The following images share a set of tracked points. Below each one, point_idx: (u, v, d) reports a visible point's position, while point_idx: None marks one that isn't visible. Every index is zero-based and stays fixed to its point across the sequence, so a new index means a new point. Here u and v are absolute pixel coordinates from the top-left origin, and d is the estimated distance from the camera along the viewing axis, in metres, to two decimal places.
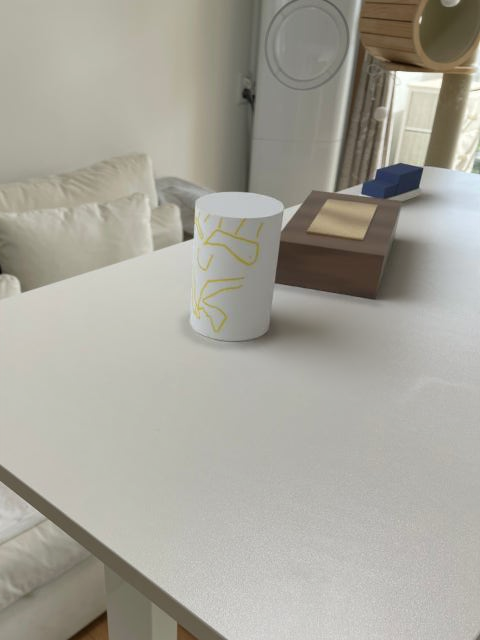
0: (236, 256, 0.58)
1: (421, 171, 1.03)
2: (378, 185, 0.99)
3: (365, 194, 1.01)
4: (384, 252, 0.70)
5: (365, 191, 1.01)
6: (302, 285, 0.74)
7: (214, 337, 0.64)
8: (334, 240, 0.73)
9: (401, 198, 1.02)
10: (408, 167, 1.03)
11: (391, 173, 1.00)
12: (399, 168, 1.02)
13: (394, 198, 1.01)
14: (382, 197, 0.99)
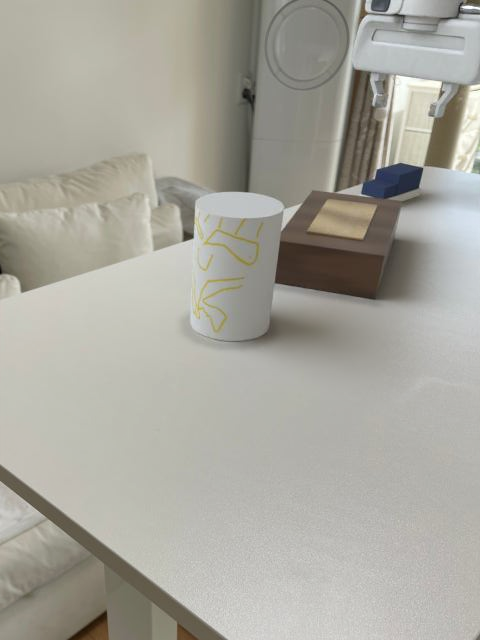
0: (236, 256, 0.58)
1: (421, 171, 1.03)
2: (378, 185, 0.99)
3: (365, 194, 1.01)
4: (384, 252, 0.70)
5: (365, 191, 1.01)
6: (302, 285, 0.74)
7: (214, 337, 0.64)
8: (334, 240, 0.73)
9: (401, 198, 1.02)
10: (408, 167, 1.03)
11: (391, 173, 1.00)
12: (399, 168, 1.02)
13: (394, 198, 1.01)
14: (382, 197, 0.99)
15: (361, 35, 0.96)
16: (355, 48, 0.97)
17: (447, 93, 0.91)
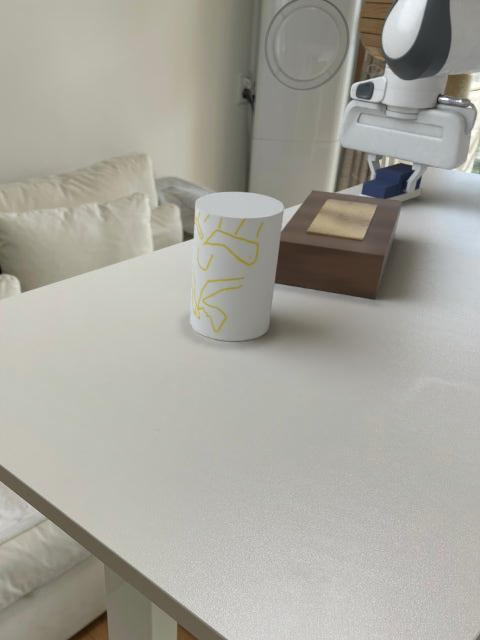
0: (236, 256, 0.58)
1: None
2: (378, 185, 0.99)
3: (365, 194, 1.01)
4: (384, 252, 0.70)
5: (365, 191, 1.01)
6: (302, 285, 0.74)
7: (214, 337, 0.64)
8: (334, 240, 0.73)
9: (401, 198, 1.02)
10: (408, 167, 1.03)
11: (391, 173, 1.00)
12: (399, 168, 1.02)
13: (394, 198, 1.01)
14: (382, 197, 0.99)
15: (347, 117, 1.02)
16: (342, 129, 1.03)
17: (417, 172, 0.98)
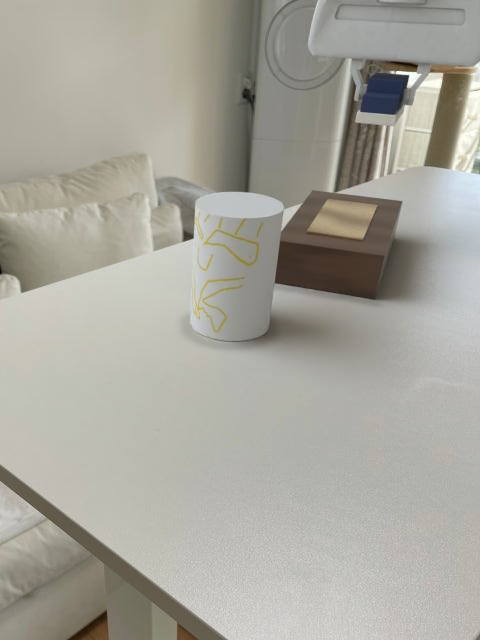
0: (236, 256, 0.58)
1: (408, 79, 0.82)
2: (384, 96, 0.76)
3: (367, 111, 0.77)
4: (384, 252, 0.70)
5: (366, 107, 0.77)
6: (302, 285, 0.74)
7: (214, 337, 0.64)
8: (334, 240, 0.73)
9: (399, 114, 0.81)
10: (394, 75, 0.82)
11: (390, 81, 0.78)
12: (388, 76, 0.80)
13: (398, 113, 0.79)
14: (393, 111, 0.76)
15: (322, 13, 0.77)
16: (314, 29, 0.78)
17: (424, 76, 0.77)
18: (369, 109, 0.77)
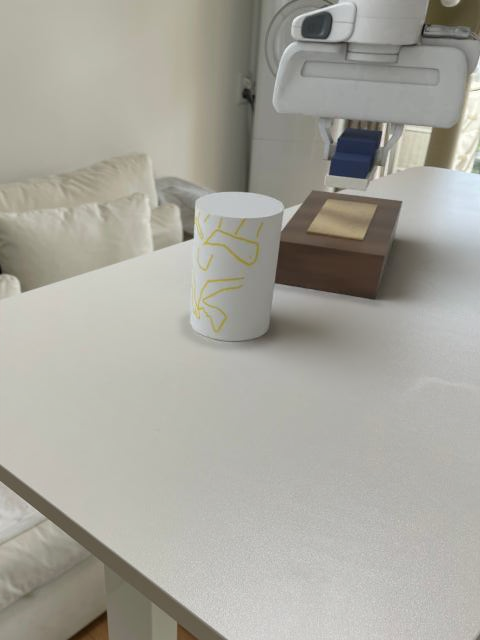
0: (236, 256, 0.58)
1: (381, 136, 0.77)
2: (355, 159, 0.71)
3: (336, 174, 0.72)
4: (384, 252, 0.70)
5: (335, 170, 0.71)
6: (302, 285, 0.74)
7: (214, 337, 0.64)
8: (334, 240, 0.73)
9: (372, 174, 0.75)
10: (366, 132, 0.76)
11: (361, 141, 0.72)
12: (359, 134, 0.75)
13: (370, 175, 0.73)
14: (364, 175, 0.71)
15: (286, 69, 0.71)
16: (278, 86, 0.72)
17: (397, 137, 0.71)
18: (338, 172, 0.71)
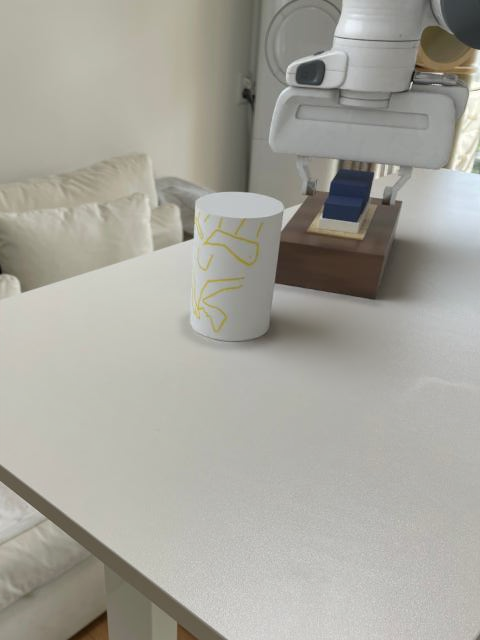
0: (236, 256, 0.58)
1: (373, 177, 0.79)
2: (347, 204, 0.73)
3: (329, 217, 0.74)
4: (384, 252, 0.70)
5: (328, 213, 0.74)
6: (302, 285, 0.74)
7: (214, 337, 0.64)
8: (334, 240, 0.73)
9: (364, 215, 0.78)
10: (358, 174, 0.79)
11: (353, 185, 0.75)
12: (352, 177, 0.78)
13: (362, 217, 0.76)
14: (355, 219, 0.73)
15: (281, 112, 0.73)
16: (274, 128, 0.75)
17: (406, 178, 0.73)
18: (331, 216, 0.74)
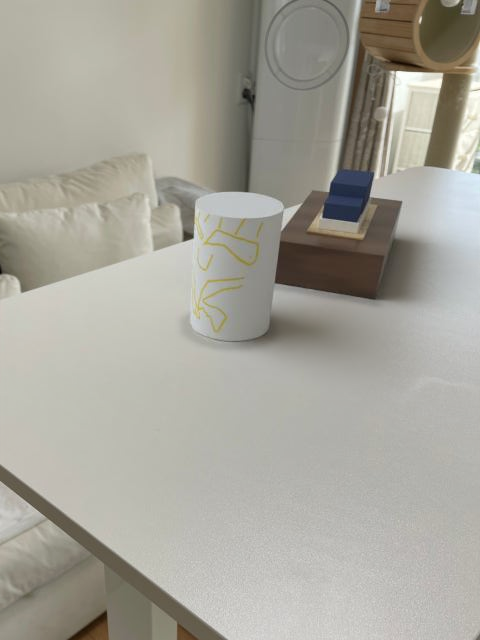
0: (236, 256, 0.58)
1: (373, 177, 0.79)
2: (347, 204, 0.73)
3: (329, 217, 0.74)
4: (384, 252, 0.70)
5: (328, 213, 0.74)
6: (302, 285, 0.74)
7: (214, 337, 0.64)
8: (334, 240, 0.73)
9: (364, 215, 0.78)
10: (358, 174, 0.79)
11: (353, 185, 0.75)
12: (352, 177, 0.78)
13: (362, 217, 0.76)
14: (355, 219, 0.73)
15: None
16: None
17: None
18: (331, 216, 0.74)
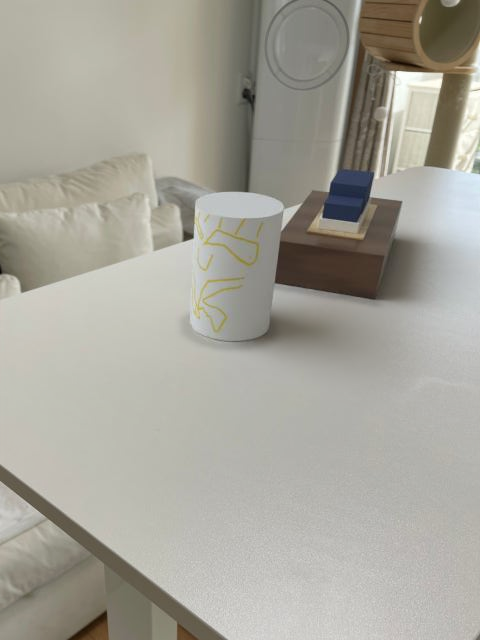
0: (236, 256, 0.58)
1: (373, 177, 0.79)
2: (347, 204, 0.73)
3: (329, 217, 0.74)
4: (384, 252, 0.70)
5: (328, 213, 0.74)
6: (302, 285, 0.74)
7: (214, 337, 0.64)
8: (334, 240, 0.73)
9: (364, 215, 0.78)
10: (358, 174, 0.79)
11: (353, 185, 0.75)
12: (352, 177, 0.78)
13: (362, 217, 0.76)
14: (355, 219, 0.73)
15: None
16: None
17: None
18: (331, 216, 0.74)
